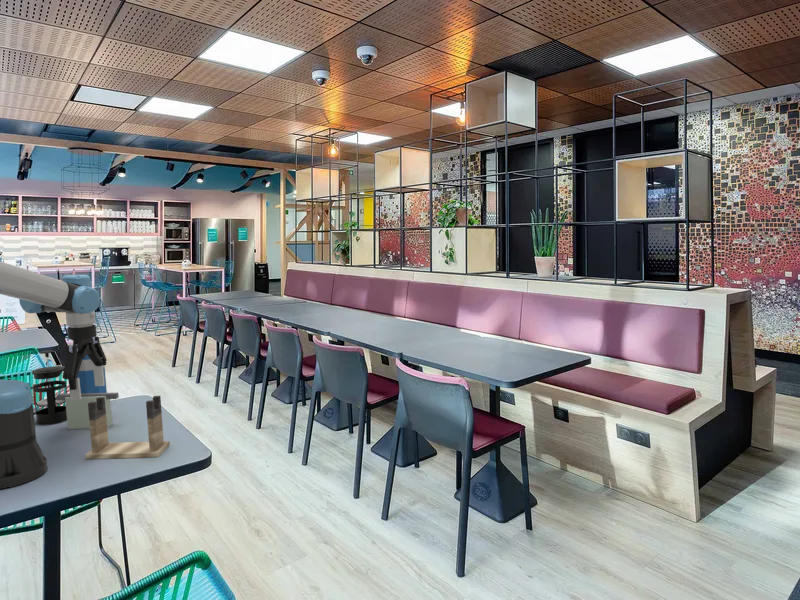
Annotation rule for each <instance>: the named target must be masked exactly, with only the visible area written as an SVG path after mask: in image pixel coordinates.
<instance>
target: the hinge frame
mask: <svg viewBox="0 0 800 600" xmlns="http://www.w3.org/2000/svg"><path fill="white" fill-rule="evenodd" d="M161 398H162V397H161V395H154V396H152V399H151V400H147V401H145V405H146V409H145V410H146V419H147V433H148V434H147V436H148V441H135V442H134V441H132V442H130V441H129V442H126V441H125V442H109V436H108V435H109V434H108V428H107V421H106V409H105V397H98V398H96V401H97V403H96V402H89V403H88V410H89V422H90V428H89V430H90V431H89V432H90V443H91V450H90V451H88V452H87V453H86V454H84V455H85V460H94V459H95V460H99V459H100V460H101V459H102V460H103V459H105V460H106V459H107V460H108V459H130V458H131V459H133V458H136V459H137V458H141V459H143V458H159V457H160V456H161V455H162V454H164V452H165V451H166V450H167V449H168V448H169V447H170V446H171V443H170V440H169V441H168V440H165V439H164V428H163V427H164V426H163V415H162V412H163V411H162V400H161ZM169 445H170V446H169ZM168 446H169V447H168Z"/></svg>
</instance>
